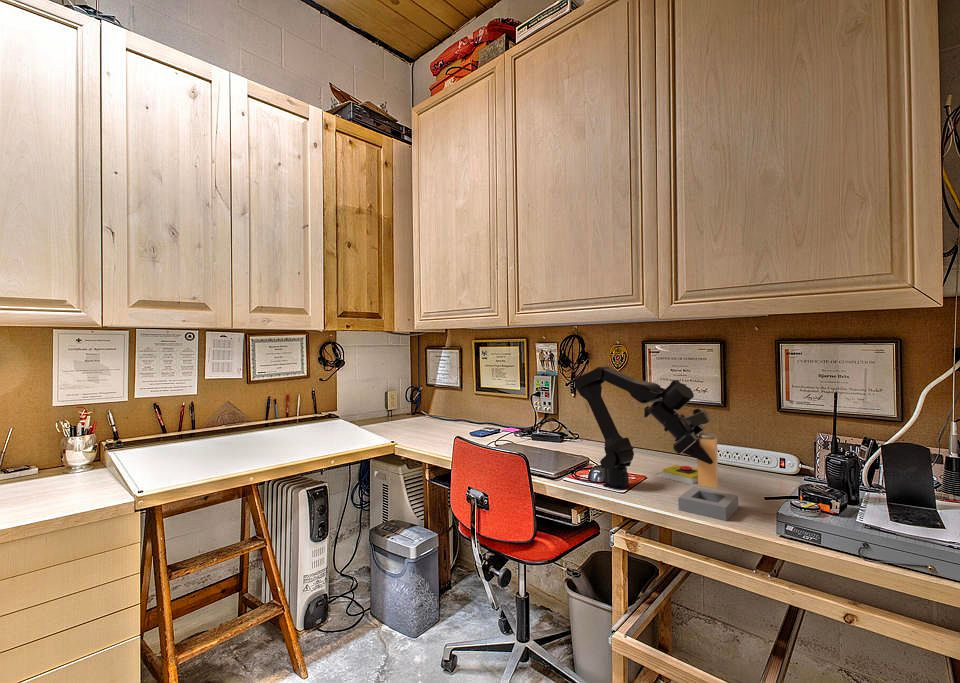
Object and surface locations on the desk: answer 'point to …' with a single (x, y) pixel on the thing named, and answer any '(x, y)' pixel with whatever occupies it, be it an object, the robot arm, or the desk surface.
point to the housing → (708, 503)
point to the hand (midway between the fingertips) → (713, 461)
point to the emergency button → (681, 474)
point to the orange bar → (705, 470)
